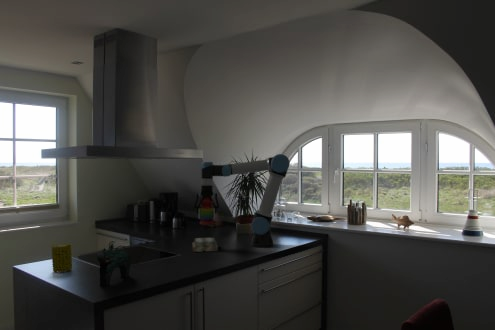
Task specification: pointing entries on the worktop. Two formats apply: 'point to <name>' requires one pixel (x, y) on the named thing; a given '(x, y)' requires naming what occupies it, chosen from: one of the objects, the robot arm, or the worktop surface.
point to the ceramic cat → (113, 263)
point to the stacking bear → (207, 212)
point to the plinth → (200, 249)
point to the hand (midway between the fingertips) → (206, 218)
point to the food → (61, 258)
